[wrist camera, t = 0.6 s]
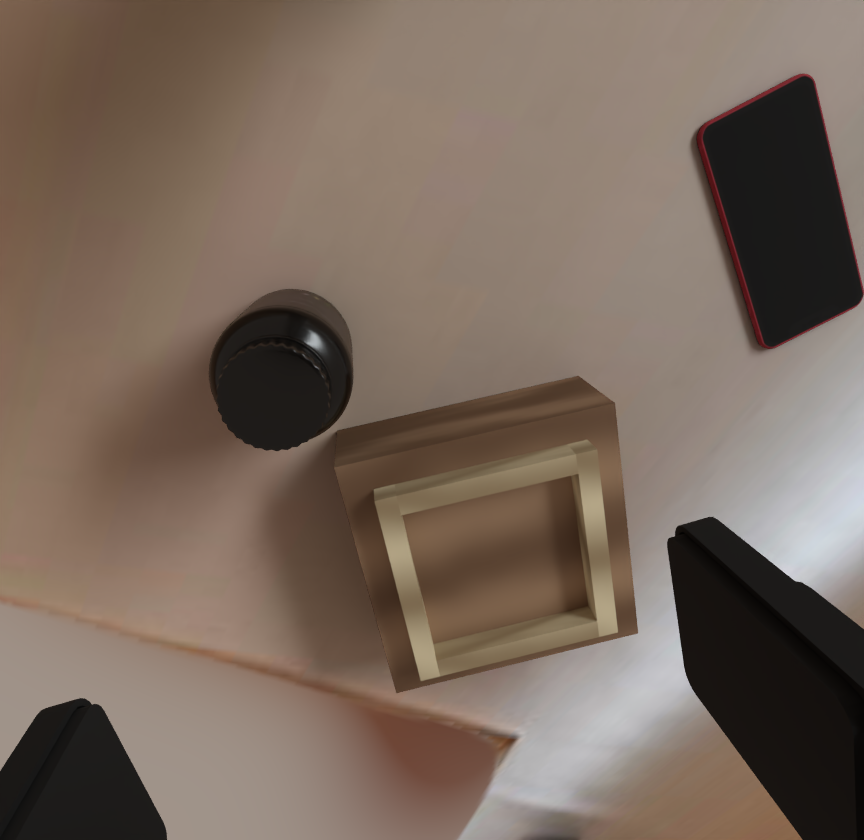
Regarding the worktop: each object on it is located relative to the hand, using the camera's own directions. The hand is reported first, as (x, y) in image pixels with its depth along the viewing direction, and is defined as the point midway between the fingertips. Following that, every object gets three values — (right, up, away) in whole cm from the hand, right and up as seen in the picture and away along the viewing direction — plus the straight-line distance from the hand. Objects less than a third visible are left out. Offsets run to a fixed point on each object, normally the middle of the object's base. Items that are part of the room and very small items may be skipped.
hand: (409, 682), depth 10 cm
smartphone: (+22, +17, +29) cm, 40 cm away
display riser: (+4, -2, +32) cm, 33 cm away
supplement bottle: (-8, +9, +28) cm, 30 cm away
